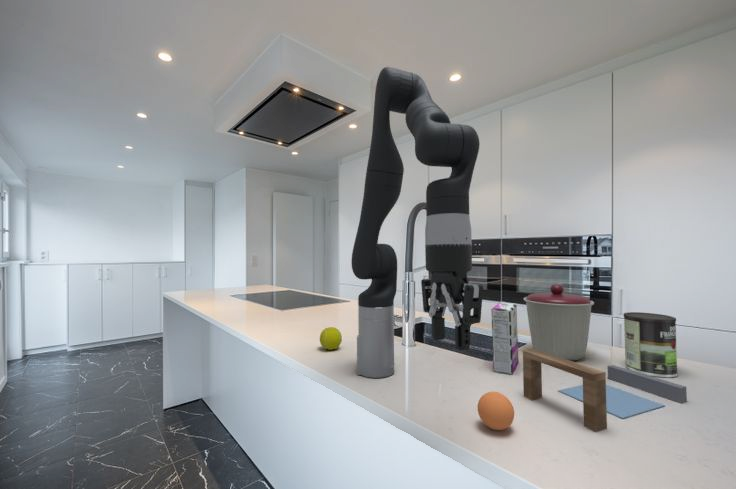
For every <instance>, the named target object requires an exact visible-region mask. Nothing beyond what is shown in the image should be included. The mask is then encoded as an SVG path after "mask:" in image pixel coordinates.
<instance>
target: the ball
mask: <svg viewBox="0 0 736 489" xmlns="http://www.w3.org/2000/svg"><path fill="white" fill-rule="evenodd" d="M477 413H478V417H479V418H480V420H481V421H482V422H483V424H484V425H485V426H487V427H488V428H490V429H492V430H494V431H503V430H506V429H507V428H509V427H510V426H511V425H512V424H513V422H514V419H515V409H514V406H513V403H512V402H511V401H510V399H509V398H508V397H507V396H506V395H504V394H503V393H501V392H498V391H488V392H486V393H484V394H483V395H481V396H480V398H479V400H478V402H477Z"/></svg>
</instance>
